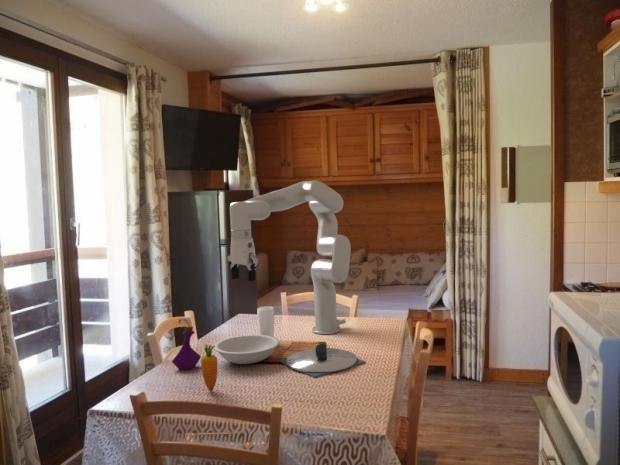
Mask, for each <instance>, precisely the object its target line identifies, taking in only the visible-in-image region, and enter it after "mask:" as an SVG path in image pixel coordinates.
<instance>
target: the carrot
mask: <svg viewBox="0 0 620 465" xmlns="http://www.w3.org/2000/svg"><path fill="white" fill-rule="evenodd" d="M214 347H215V346H214V345H213V346H212V344H207V343H206V344H205V345H204V352H205V354H206V355H203V356H201V358H200V363H201V374H202V377H203V381H204V384H205V386H206V388H207V389H208V391H209V392H210V393H211V392H213V390H214V388H215V386H216V383H217V378H218V357H217V356H216V355H215V354H212V353H214V352H213V350H214Z"/></svg>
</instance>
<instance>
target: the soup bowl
mask: <svg viewBox="0 0 620 465" xmlns="http://www.w3.org/2000/svg"><path fill="white" fill-rule="evenodd" d="M279 345H280V340H279V339H278V338H277V337H275V336H274V337H272V336H267V335H260V334H243V335H236V336H231V337H227V338H224V339H221V340H219V341H217V342H215V343H214V344H213V346H215V347H214V348H213V350H214V351H215V352H217V353H218V354H219V355H220V356H221V357H222V359H224V360H226V361H227V362H229V363H233V364H238V365H248V364H249V365H250V364H254V363H255V364H256V363H259V362H262V361H264V360H265V359H267V358H268V357H270V355H271V354H272V353H273V352H274V350H275V348H277V347H278V346H279Z"/></svg>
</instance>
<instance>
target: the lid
mask: <svg viewBox="0 0 620 465" xmlns="http://www.w3.org/2000/svg"><path fill="white" fill-rule="evenodd" d="M327 345H328V344H327V342H325V341H317V342H315V343H314V347H315V348H310V349H304V350H301V351H300V350H299V351H296V352H295V353H292V354H290V355H289V356H288V357H286V358H287V360H286V363H287V365H286V366H287V367H288V368H290V369H291V370H294V371H297V372H300V371H301V373H302V372H309V373H329V372H333V373H336V371H337V372H341V371H344V370H347V369H350V368H353V367H352V366H353V365H354V364H355V363H356V362H357V359H358V357H357V355H356V354H354V352H351V351H349V350H345V349H341V348H331V347H330V348H328V346H327Z"/></svg>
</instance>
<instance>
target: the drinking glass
mask: <svg viewBox="0 0 620 465" xmlns="http://www.w3.org/2000/svg"><path fill="white" fill-rule="evenodd" d="M256 314H257V323H258V324H257V325H258V331H259V335H267V336H272V337H275V309H274V307H273V306H260V307H257V311H256Z"/></svg>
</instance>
